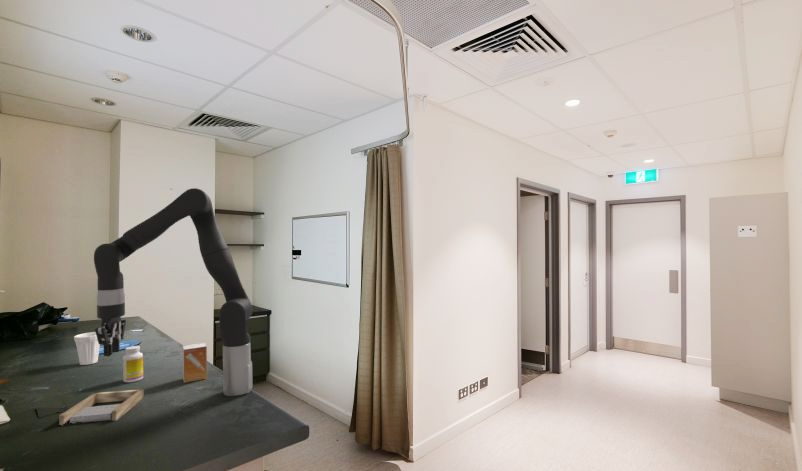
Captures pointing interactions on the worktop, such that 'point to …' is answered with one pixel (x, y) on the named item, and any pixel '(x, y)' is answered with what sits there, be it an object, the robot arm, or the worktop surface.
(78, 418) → the cover plate
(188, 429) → the worktop surface
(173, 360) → the worktop surface
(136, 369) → the supplement bottle
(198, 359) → the small box
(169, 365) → the worktop surface
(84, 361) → the cup
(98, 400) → the wooden bracket
